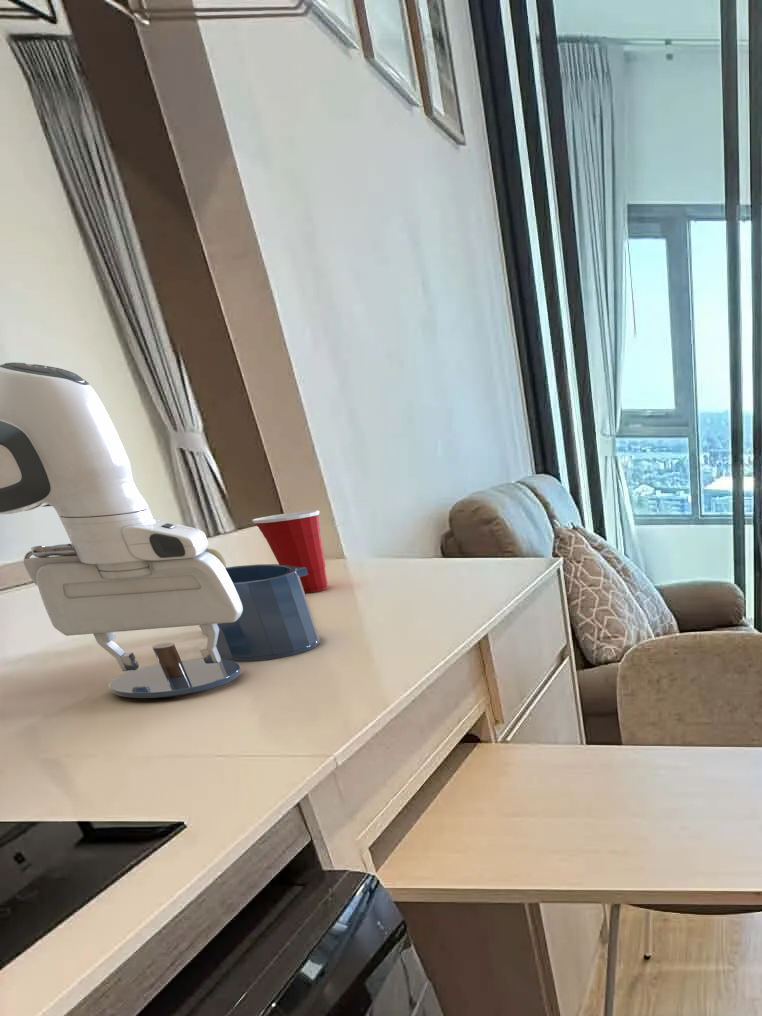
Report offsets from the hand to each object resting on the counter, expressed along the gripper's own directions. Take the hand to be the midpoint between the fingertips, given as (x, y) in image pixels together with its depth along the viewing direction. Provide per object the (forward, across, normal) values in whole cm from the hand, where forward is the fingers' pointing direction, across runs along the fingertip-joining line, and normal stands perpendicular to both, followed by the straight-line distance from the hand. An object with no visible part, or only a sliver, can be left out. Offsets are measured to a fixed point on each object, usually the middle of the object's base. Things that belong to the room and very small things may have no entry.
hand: (172, 665), depth 106 cm
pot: (+2, +8, +16) cm, 18 cm away
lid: (+2, 0, 0) cm, 2 cm away
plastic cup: (+2, +8, +56) cm, 57 cm away
